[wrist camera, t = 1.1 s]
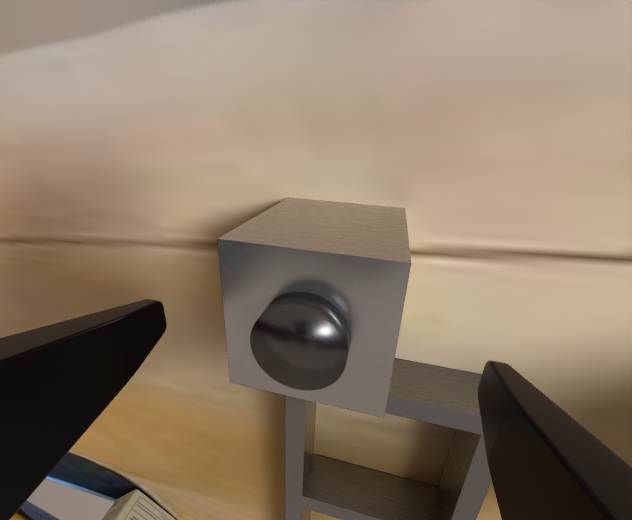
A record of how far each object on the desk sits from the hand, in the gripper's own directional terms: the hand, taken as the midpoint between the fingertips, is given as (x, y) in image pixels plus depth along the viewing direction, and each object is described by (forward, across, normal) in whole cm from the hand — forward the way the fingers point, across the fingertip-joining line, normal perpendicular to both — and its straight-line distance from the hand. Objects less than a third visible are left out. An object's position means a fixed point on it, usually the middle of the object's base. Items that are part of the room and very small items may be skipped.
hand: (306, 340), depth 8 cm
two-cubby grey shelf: (+6, -3, +14) cm, 16 cm away
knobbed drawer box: (+6, 0, 0) cm, 6 cm away
